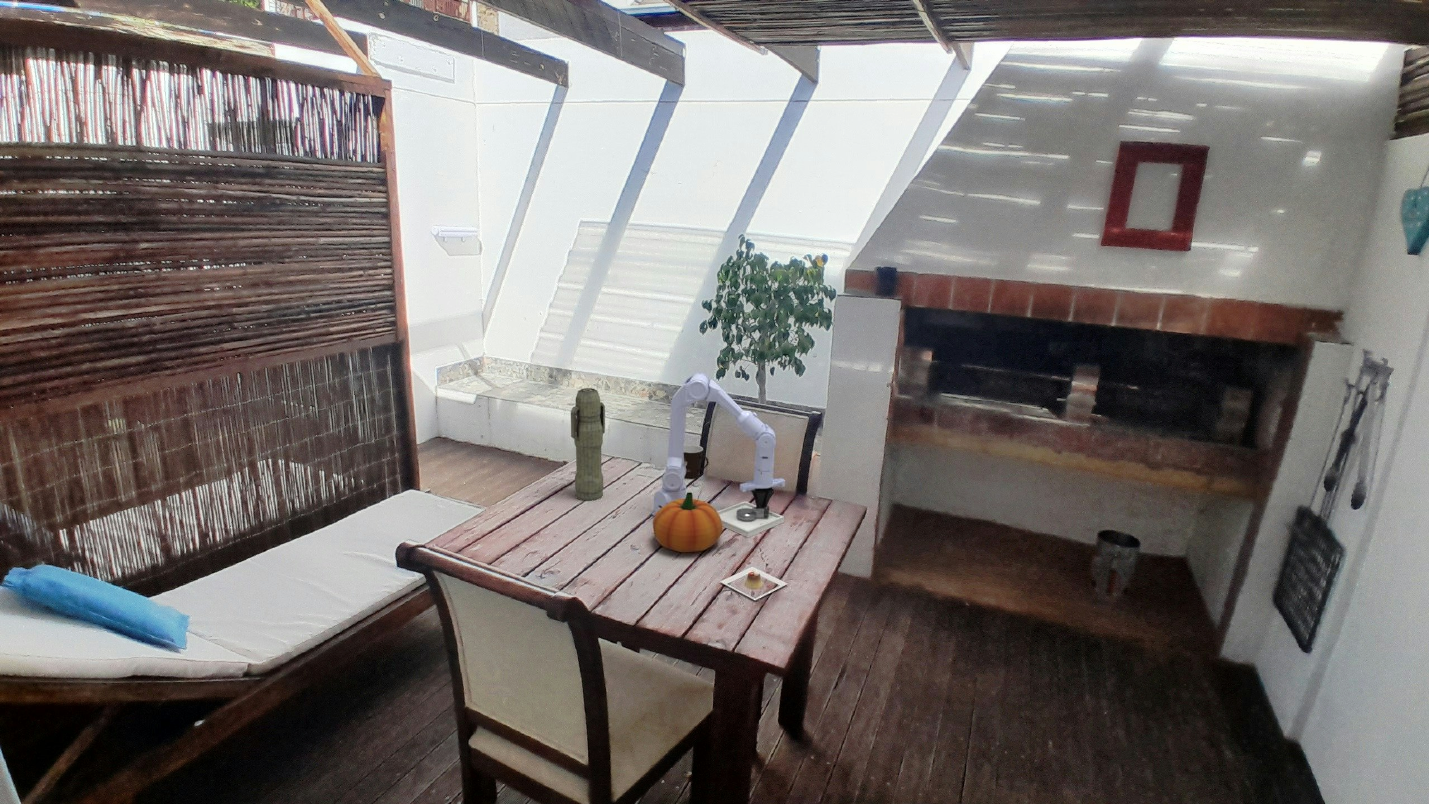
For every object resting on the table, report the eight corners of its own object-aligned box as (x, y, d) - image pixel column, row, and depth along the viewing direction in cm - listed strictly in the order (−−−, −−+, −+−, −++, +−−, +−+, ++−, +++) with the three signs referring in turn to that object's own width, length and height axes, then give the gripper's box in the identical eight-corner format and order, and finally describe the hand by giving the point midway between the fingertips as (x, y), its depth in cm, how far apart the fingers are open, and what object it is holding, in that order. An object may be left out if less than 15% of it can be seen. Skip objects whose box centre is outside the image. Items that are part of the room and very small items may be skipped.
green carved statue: (565, 497, 229) (563, 390, 220) (593, 487, 238) (592, 384, 229) (584, 504, 223) (582, 395, 215) (612, 494, 232) (611, 389, 224)
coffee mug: (674, 473, 253) (674, 446, 250) (696, 470, 257) (697, 443, 254) (686, 484, 243) (687, 456, 240) (709, 481, 246) (710, 453, 244)
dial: (737, 520, 211) (737, 510, 211) (735, 512, 217) (736, 502, 216) (769, 520, 212) (770, 510, 211) (767, 512, 218) (768, 503, 217)
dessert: (719, 585, 178) (719, 568, 177) (752, 570, 186) (752, 553, 185) (755, 604, 170) (755, 586, 168) (787, 587, 178) (788, 570, 177)
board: (747, 537, 204) (747, 531, 203) (708, 520, 215) (708, 514, 214) (783, 522, 215) (784, 516, 214) (744, 506, 226) (745, 501, 225)
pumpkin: (677, 522, 212) (678, 475, 209) (734, 538, 203) (736, 488, 199) (638, 546, 196) (638, 495, 193) (697, 565, 187) (699, 511, 183)
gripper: (777, 461, 220) (774, 502, 223) (736, 466, 213) (733, 509, 217) (790, 468, 213) (786, 511, 217) (747, 474, 207) (744, 518, 211)
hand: (761, 510), depth 216 cm, fingers closed, pressing on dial
